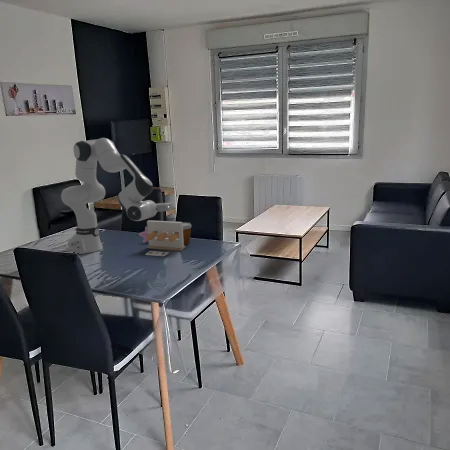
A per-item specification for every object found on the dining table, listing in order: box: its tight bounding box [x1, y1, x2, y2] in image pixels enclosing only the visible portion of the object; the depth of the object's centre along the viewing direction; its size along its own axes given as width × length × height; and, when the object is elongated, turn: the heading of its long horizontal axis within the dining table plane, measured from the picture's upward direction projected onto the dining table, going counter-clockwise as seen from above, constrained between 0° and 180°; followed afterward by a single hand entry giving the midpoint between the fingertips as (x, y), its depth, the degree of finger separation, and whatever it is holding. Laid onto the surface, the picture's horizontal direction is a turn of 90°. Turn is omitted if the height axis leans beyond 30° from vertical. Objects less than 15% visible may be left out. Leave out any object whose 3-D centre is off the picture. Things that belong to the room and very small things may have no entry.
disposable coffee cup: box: [176, 222, 192, 246], centre depth 258 cm, size 10×10×12 cm
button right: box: [167, 232, 179, 242], centre depth 244 cm, size 4×6×4 cm, turn 162°
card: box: [144, 250, 170, 257], centre depth 240 cm, size 12×6×1 cm, turn 72°
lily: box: [138, 226, 154, 244], centre depth 265 cm, size 12×12×10 cm
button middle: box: [157, 232, 168, 241], centre depth 246 cm, size 4×6×4 cm, turn 161°
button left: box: [146, 231, 157, 241], centre depth 248 cm, size 4×6×4 cm, turn 161°
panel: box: [146, 219, 187, 252], centre depth 249 cm, size 22×7×16 cm, turn 71°
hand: (158, 205), depth 226 cm, fingers open, 8 cm apart
